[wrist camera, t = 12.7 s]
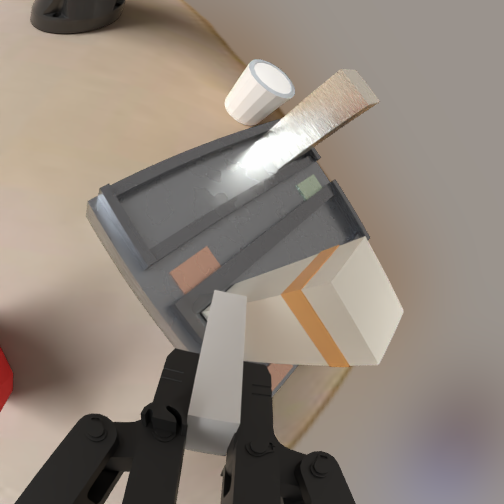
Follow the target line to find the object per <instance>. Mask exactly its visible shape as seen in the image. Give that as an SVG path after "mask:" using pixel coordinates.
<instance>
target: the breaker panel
mask: <svg viewBox="0 0 504 504" xmlns="http://www.w3.org/2000/svg"><path fill="white" fill-rule="evenodd" d="M379 102H380V101H379V100H378V98H377V97H376V96H375V94H374V93H373V91H372V90H371V89H370V87H369V86H368V85H367V84H366V82H365V81H364V80H363V78H362V77H361V76H360V75H359V73H358V72H357V71H356V70H348V69H341V70H339V71H338V72H337V73H336V74H334V75H333V76H332V77H331V78H329V79H328V80H327V81H326V82H324V83H323V84H322V85H321V86H320V87H319V88H317V89H316V90H315V91H313V92H312V93H311V94H310V95H309V96H308V97H306V98H305V99H304V100H303V101H302V102H300V103H299V104H298V105H297V106H296V107H295V108H294V109H292V110H291V111H290V112H289V113H288V114H287V115H286V116H284V117H283V118H281V119H278V120H274V121H271V122H268V123H265V124H261V125H258V126H255V127H252V128H249V129H246V130H243V131H240V132H237V133H234V134H231V135H228V136H225V137H222V138H219V139H217V140H214V141H211V142H209V143H206V144H203V145H201V146H198V147H196V148H193V149H190V150H188V151H185V152H183V153H180V154H178V155H176V156H173V157H171V158H168V159H166V160H164V161H162V162H159V163H157V164H155V165H152V166H150V167H148V168H146V169H144V170H141V171H139V172H137V173H135V174H133V175H131V176H129V177H127V178H125V179H122V180H120V181H118V182H116V183H114V184H112V185H109V184H107V185H105V186H103V187H101V188H100V189H99V194H98V196H97V197H95V198H93V199H91V200H89V201H88V204H87V213H86V217H87V218H88V220H89V222H90V224H91V226H92V227H93V229H94V231H95V232H96V234H97V236H98V237H99V239H100V241H101V242H102V244H103V246H104V247H105V249H106V251H107V252H108V254H109V255H110V257H111V259H112V260H113V262H114V263H115V265H116V267H117V268H118V270H119V271H120V273H121V274H122V276H123V277H124V279H125V280H126V282H127V283H128V285H129V286H130V288H131V289H132V290H133V292H134V293H135V295H136V296H137V298H138V299H139V300H140V302H141V303H142V305H143V306H144V307H145V309H146V310H147V312H148V313H149V314H150V316H151V317H152V318H153V320H154V321H155V322H156V324H157V325H158V326H159V328H160V329H161V330H162V332H163V333H164V334H165V335H166V337H167V338H168V339H169V341H170V342H171V343H172V344H173V346H174V347H175V348H176V349H181V350H185V351H189V352H194V353H199V354H200V353H201V348H202V343H203V339H204V334H205V330H206V325H207V320H206V318H205V317H204V316H203V314H202V313H201V312H202V311H204V310H205V309H206V308H207V307H208V306H209V305H211V303H212V298H213V294H214V290H218V291H223V292H226V291H227V290H228V289H229V288H231V287H232V286H233V285H234V284H235V283H238V282H241V281H244V280H247V279H250V278H252V277H255V276H258V275H261V274H264V273H267V272H269V271H272V270H275V269H278V268H280V267H283V266H286V265H289V264H292V263H294V262H297V261H300V260H302V259H305V258H308V257H311V256H313V255H316V254H319V253H320V252H321V251H324V250H326V249H329V248H332V247H334V246H337V245H339V246H340V245H343V244H346V243H348V242H351V241H353V240H356V239H359V238H361V237H364V236H366V238H367V240H369V238H370V236H369V235H368V233H367V231H366V230H365V228H364V226H363V224H362V223H361V221H360V219H359V217H358V215H357V214H356V212H355V210H354V209H353V207H352V205H351V204H350V202H349V201H348V199H347V197H346V196H345V194H344V192H343V191H342V189H341V187H340V186H339V184H338V183H337V181H336V180H333V181H331V182H330V181H329V180H328V178H327V177H326V175H325V174H324V172H323V171H322V169H321V168H320V166H319V165H318V163H317V162H316V161H317V160H319V159H320V158H321V157H320V155H319V154H318V153H317V151H316V150H315V148H314V147H315V146H316V145H318V144H319V143H320V142H322V141H323V140H325V139H326V138H328V137H329V136H330V135H332V134H333V133H335V132H336V131H338V130H339V129H340V128H342V127H343V126H345V125H346V124H348V123H349V122H351V121H352V120H354V119H355V118H356V117H358V116H360V115H361V114H363V113H364V112H365V111H367V110H369V109H370V108H372V107H373V106H375V105H376V104H377V103H379ZM244 362H250V361H244ZM250 363H256V364H263V365H266V367H267V368H268V370H269V372H270V374H271V383H272V387H271V389H272V396H273V395H274V394H275V393H276V392H277V391H278V389H279V388H280V387H281V386H282V385H283V383H284V382H285V381H286V380H287V378H288V377H289V376H290V375H291V374H292V372H293V371H294V370H295V369H296V367H297V366H298V365H293V364H276V363H262V362H250Z"/></svg>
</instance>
